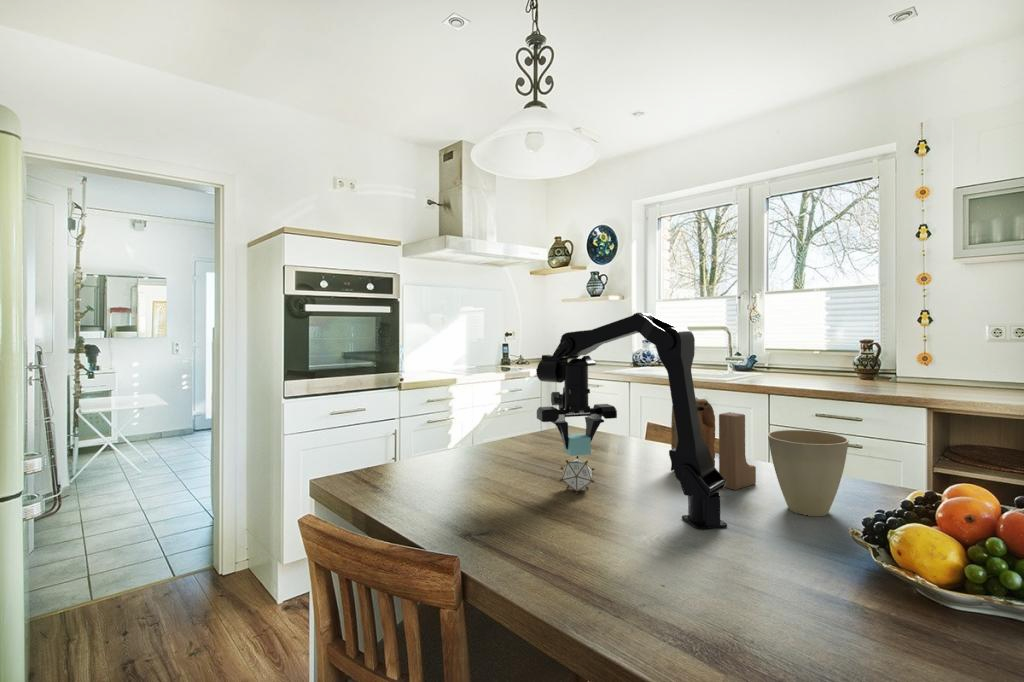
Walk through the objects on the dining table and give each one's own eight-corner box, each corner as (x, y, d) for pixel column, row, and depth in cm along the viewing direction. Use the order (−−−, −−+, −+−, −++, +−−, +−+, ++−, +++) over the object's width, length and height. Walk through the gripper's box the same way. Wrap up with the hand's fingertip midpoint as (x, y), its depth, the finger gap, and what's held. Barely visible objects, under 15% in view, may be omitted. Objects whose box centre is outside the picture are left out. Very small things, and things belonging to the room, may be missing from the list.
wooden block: (739, 479, 132) (739, 410, 131) (756, 484, 128) (756, 412, 127) (718, 486, 127) (718, 413, 126) (735, 490, 123) (734, 416, 122)
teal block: (590, 454, 122) (590, 437, 122) (570, 455, 121) (570, 438, 121) (583, 449, 127) (583, 433, 127) (564, 450, 126) (564, 434, 126)
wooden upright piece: (668, 470, 141) (668, 398, 141) (684, 465, 146) (684, 395, 145) (704, 479, 132) (703, 402, 132) (720, 473, 137) (719, 399, 137)
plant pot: (804, 495, 119) (804, 427, 118) (866, 518, 104) (866, 440, 104) (752, 503, 114) (752, 432, 114) (809, 527, 100) (809, 446, 99)
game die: (574, 503, 126) (575, 464, 132) (602, 497, 121) (602, 457, 127) (550, 492, 121) (552, 452, 127) (579, 485, 116) (579, 445, 122)
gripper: (600, 379, 133) (600, 439, 134) (530, 382, 130) (531, 443, 130) (617, 383, 123) (618, 448, 123) (542, 386, 119) (543, 453, 119)
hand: (577, 448), depth 124 cm, fingers closed on teal block, 5 cm apart
